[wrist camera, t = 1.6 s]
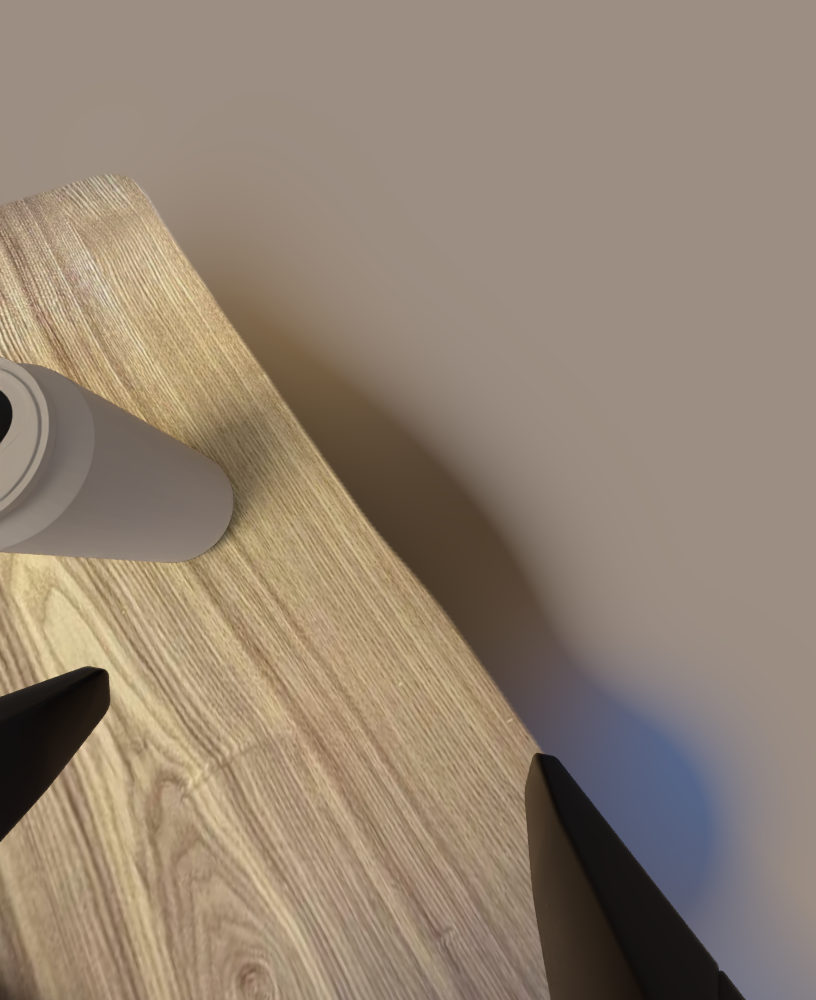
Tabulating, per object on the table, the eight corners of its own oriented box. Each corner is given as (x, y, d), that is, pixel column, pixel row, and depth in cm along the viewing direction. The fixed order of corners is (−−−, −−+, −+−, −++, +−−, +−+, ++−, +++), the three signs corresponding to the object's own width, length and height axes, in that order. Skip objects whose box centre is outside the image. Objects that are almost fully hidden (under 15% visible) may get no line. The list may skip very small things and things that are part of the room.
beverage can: (259, 483, 24) (100, 387, 12) (203, 583, 23) (-31, 586, 11) (169, 438, 25) (-63, 309, 13) (110, 534, 24) (-199, 488, 12)
